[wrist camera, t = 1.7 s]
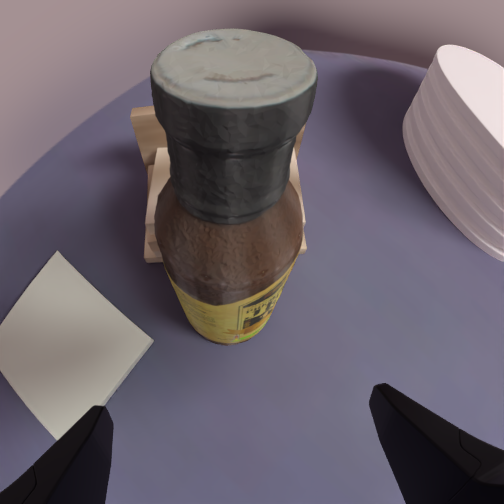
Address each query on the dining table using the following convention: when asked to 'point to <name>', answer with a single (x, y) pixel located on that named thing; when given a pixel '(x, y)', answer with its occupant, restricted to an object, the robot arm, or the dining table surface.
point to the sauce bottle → (230, 174)
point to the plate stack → (462, 143)
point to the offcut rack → (158, 171)
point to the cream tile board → (66, 346)
